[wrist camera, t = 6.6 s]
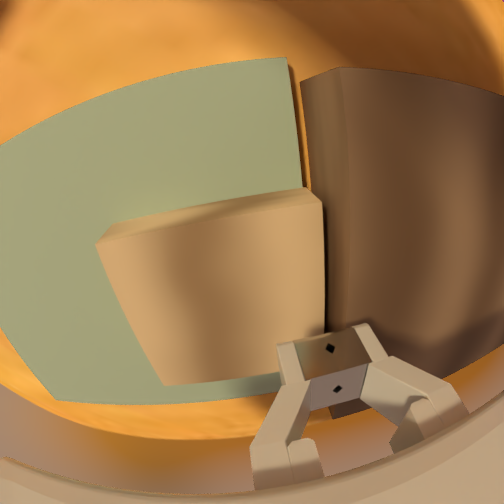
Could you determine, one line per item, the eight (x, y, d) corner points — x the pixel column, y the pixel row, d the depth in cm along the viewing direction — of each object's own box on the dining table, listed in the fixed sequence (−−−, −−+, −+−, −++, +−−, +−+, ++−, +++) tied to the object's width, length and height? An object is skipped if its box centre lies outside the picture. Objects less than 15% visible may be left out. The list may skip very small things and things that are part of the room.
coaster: (305, 187, 11) (321, 201, 9) (312, 335, 15) (322, 361, 13) (112, 223, 11) (95, 244, 9) (167, 357, 14) (164, 385, 13)
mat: (283, 59, 9) (286, 57, 8) (308, 379, 17) (309, 384, 17) (-53, 186, 8) (-58, 189, 8) (57, 395, 17) (56, 399, 16)
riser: (525, 112, 10) (568, 124, 6) (493, 305, 17) (519, 332, 14) (299, 82, 9) (339, 67, 6) (315, 368, 17) (332, 419, 13)
